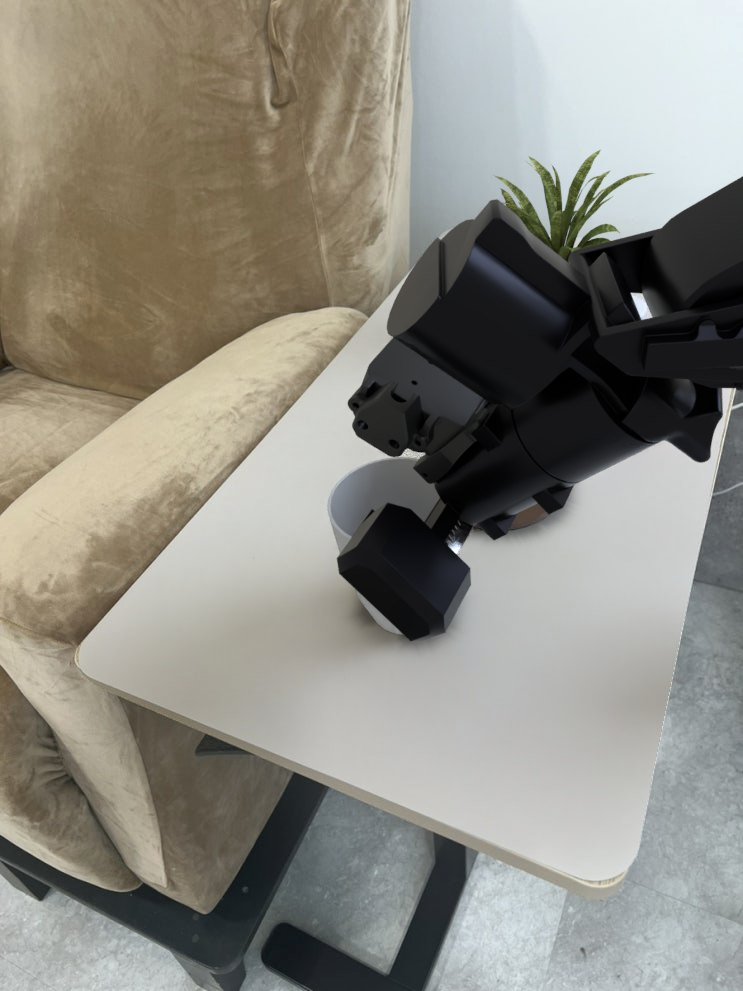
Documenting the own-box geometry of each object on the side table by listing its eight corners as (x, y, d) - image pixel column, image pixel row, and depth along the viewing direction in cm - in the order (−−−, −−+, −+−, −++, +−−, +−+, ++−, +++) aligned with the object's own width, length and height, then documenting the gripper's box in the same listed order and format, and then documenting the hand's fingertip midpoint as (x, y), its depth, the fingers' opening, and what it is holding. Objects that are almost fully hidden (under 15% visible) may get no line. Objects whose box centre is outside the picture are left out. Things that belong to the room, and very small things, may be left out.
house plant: (625, 283, 83) (643, 123, 73) (645, 349, 73) (670, 176, 63) (493, 290, 86) (491, 136, 75) (494, 356, 75) (493, 189, 65)
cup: (422, 673, 49) (409, 566, 42) (325, 620, 53) (300, 515, 46) (488, 590, 53) (485, 482, 47) (394, 547, 57) (379, 442, 51)
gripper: (511, 227, 42) (359, 366, 54) (346, 420, 30) (199, 543, 42) (641, 373, 44) (467, 476, 56) (533, 608, 32) (342, 675, 44)
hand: (379, 532), depth 49 cm, fingers closed on cup, 8 cm apart
